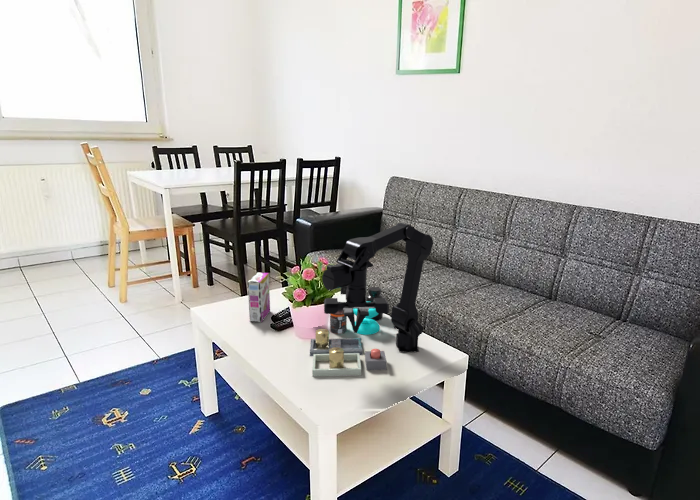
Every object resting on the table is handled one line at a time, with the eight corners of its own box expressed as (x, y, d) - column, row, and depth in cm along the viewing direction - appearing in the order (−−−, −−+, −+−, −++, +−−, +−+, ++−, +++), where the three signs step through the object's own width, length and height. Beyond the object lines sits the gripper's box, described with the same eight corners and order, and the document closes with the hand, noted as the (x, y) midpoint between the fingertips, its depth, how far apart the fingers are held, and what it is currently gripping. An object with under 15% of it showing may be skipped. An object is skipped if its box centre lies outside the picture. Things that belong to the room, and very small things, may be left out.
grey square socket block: (383, 362, 141) (384, 350, 140) (386, 372, 136) (386, 360, 134) (365, 362, 141) (365, 351, 140) (366, 373, 135) (366, 361, 134)
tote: (359, 361, 142) (359, 353, 141) (361, 378, 133) (361, 369, 132) (313, 362, 141) (313, 354, 140) (312, 379, 132) (312, 370, 131)
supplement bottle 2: (377, 323, 168) (378, 293, 165) (361, 319, 172) (362, 289, 169) (386, 316, 174) (386, 287, 171) (370, 312, 178) (371, 284, 174)
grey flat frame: (360, 342, 154) (360, 336, 153) (362, 357, 144) (362, 350, 143) (311, 343, 153) (310, 337, 152) (309, 358, 143) (309, 351, 143)
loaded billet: (329, 344, 150) (328, 328, 148) (329, 351, 146) (328, 334, 144) (316, 345, 150) (315, 328, 148) (315, 351, 146) (315, 335, 144)
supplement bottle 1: (344, 337, 158) (344, 307, 154) (328, 335, 159) (327, 306, 156) (348, 329, 163) (348, 301, 160) (332, 328, 164) (332, 299, 161)
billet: (343, 364, 139) (343, 347, 137) (344, 372, 135) (344, 354, 133) (329, 364, 139) (329, 347, 137) (329, 372, 135) (329, 354, 133)
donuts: (383, 302, 162) (375, 313, 153) (383, 327, 165) (374, 339, 156) (357, 298, 166) (348, 308, 157) (357, 323, 168) (348, 334, 160)
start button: (379, 357, 139) (379, 348, 138) (380, 361, 136) (380, 353, 135) (370, 357, 139) (370, 348, 138) (371, 362, 136) (371, 353, 135)
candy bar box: (262, 323, 168) (259, 282, 164) (249, 322, 169) (246, 281, 164) (271, 311, 179) (269, 272, 174) (259, 310, 180) (256, 271, 175)
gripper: (384, 274, 138) (382, 320, 142) (324, 274, 137) (323, 321, 141) (390, 286, 127) (387, 336, 131) (324, 286, 126) (324, 337, 130)
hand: (355, 332), depth 134 cm, fingers closed
